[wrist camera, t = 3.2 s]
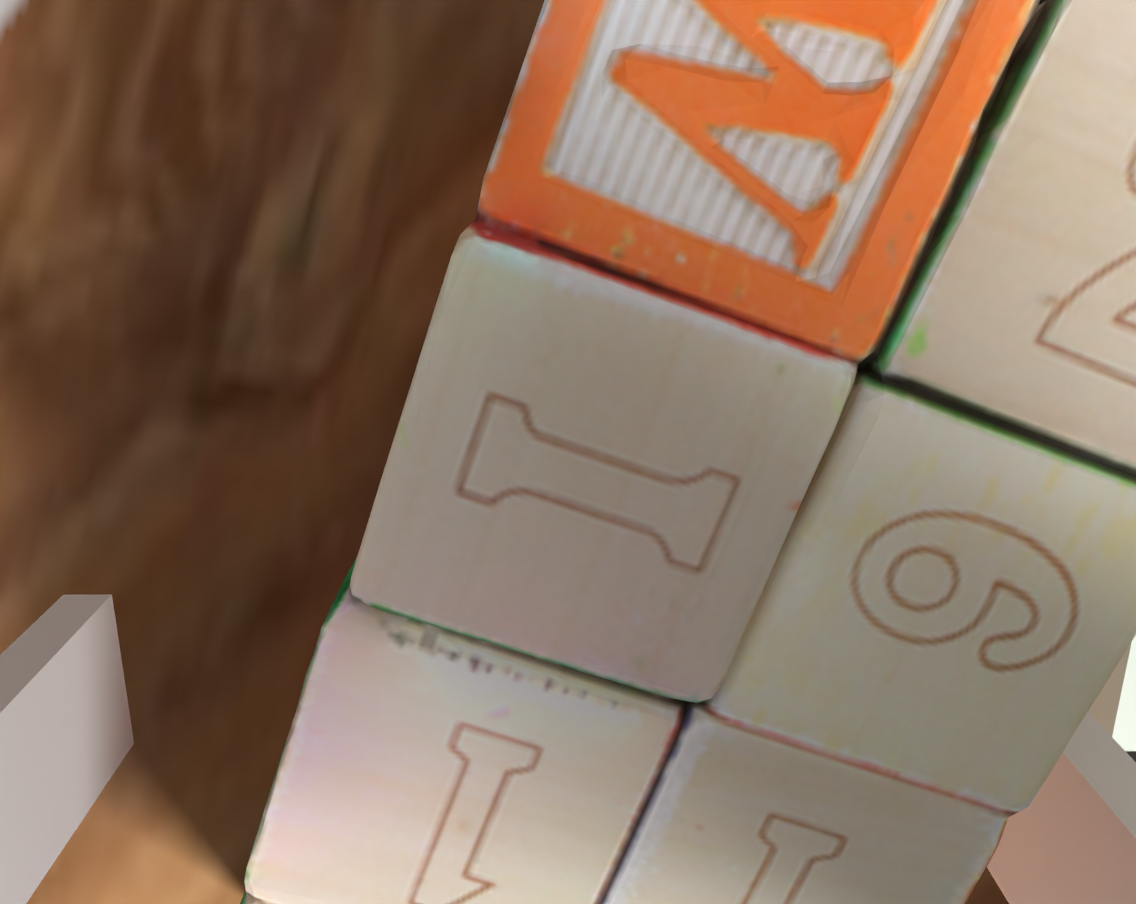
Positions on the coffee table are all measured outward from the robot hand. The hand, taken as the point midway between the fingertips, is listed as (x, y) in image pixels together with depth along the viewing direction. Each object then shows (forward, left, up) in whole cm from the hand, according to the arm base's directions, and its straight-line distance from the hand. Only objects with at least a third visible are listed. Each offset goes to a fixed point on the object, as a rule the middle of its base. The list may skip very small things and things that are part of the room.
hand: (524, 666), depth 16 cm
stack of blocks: (0, +1, -5) cm, 5 cm away
